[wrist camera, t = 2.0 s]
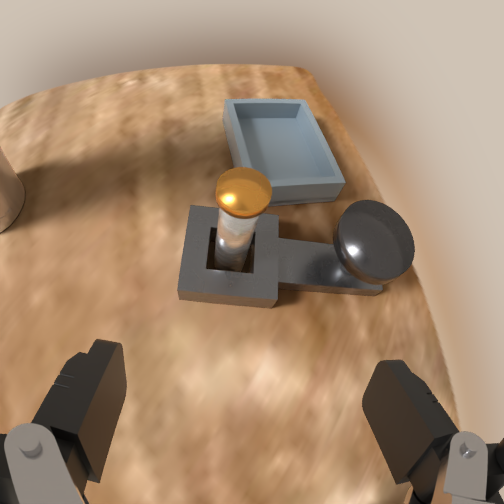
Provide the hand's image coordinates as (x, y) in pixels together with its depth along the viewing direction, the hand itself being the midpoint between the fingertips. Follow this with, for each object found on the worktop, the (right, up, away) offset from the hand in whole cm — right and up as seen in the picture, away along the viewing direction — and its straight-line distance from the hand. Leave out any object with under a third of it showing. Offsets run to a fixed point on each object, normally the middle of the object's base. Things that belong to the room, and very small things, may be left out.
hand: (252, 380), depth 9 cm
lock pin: (-2, +3, +25) cm, 25 cm away
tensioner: (+4, +2, +26) cm, 26 cm away
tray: (+3, +17, +33) cm, 37 cm away
